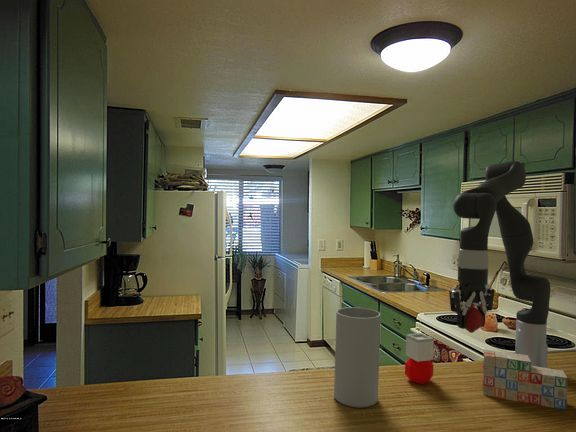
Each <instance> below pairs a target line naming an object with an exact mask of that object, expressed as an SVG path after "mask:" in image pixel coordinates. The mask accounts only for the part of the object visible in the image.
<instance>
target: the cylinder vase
mask: <svg viewBox="0 0 576 432" xmlns="http://www.w3.org/2000/svg"><path fill="white" fill-rule="evenodd" d="M335 312H336V318H335V319H336V320H335V348H334V349H335V352H334V380H333V383H334V385H333V387H334V388H333V389H334V391H333V396H334V398H335V400H336V401H338V402H339V403H340V404H341V405H344V406H347V407H349V408H351V407H352V408H358V409H359V408H369V407H372V406H374V405H375V404H376V403H377V402H378V400H379V378H380V377H379V374H380V369H379V368H380V347H381V346H380V343H381V342H380V341H381V338H380V337H381V313H380V311H377V310H375V309H372V308H367V307H366V308H365V307H354V306H353V307H351V306H350V307H340V308H338V309H337V310H336V311H335Z"/></svg>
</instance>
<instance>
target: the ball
mask: <svg viewBox="0 0 576 432" xmlns="http://www.w3.org/2000/svg"><path fill="white" fill-rule="evenodd" d="M404 374H405V375H406V377H407V378H408V379H409V381H410V383H412V382H413V383H415V382H416V384H419V383H420V385H425V384H426V383H427V382H429V381H430V380H431V379H432V378H433V377H434V364H433V363H432V360H427V361H419V362H417V361H415V360H414V359H412V358H410V357H409V359H407V360H406V361H405V363H404Z"/></svg>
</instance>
